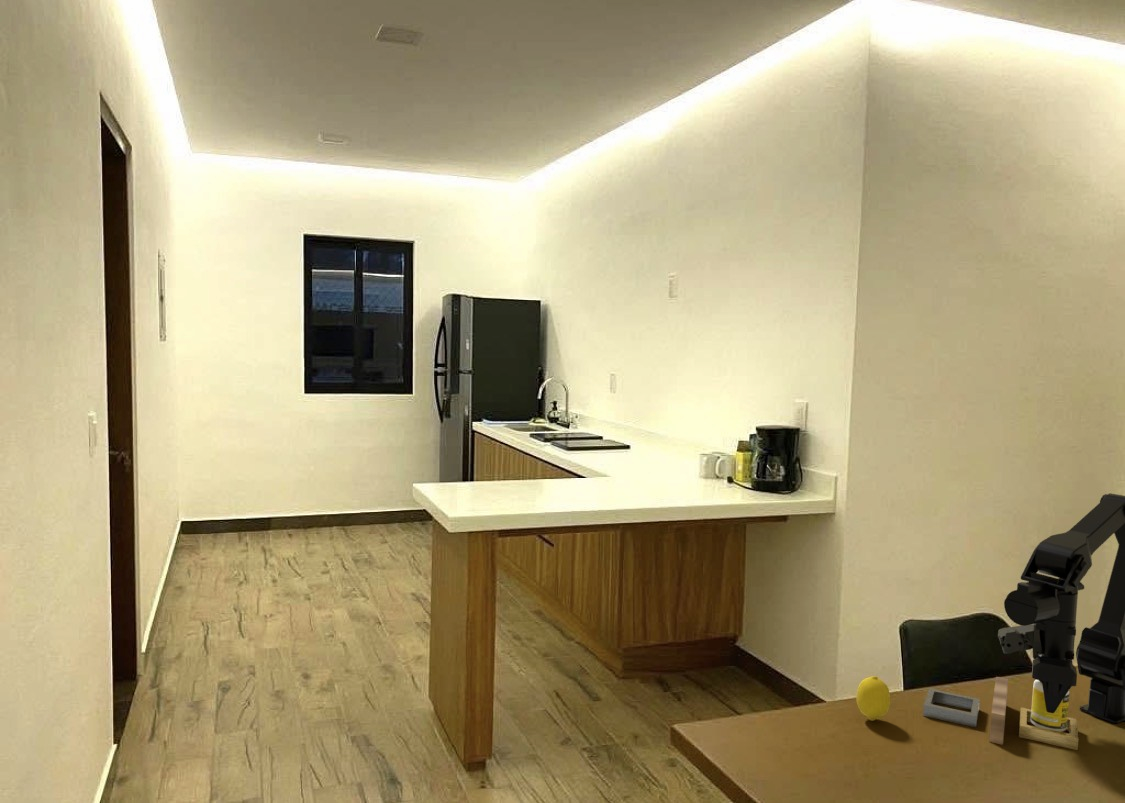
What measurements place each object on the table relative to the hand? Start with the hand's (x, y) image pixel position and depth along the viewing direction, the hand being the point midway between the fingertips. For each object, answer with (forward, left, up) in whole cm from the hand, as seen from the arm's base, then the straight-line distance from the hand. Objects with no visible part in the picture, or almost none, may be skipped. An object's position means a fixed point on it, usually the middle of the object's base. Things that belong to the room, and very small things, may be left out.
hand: (1049, 706), depth 145 cm
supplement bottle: (0, 0, -4) cm, 4 cm away
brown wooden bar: (+4, -6, -5) cm, 9 cm away
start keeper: (+8, -13, -5) cm, 16 cm away
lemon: (+24, -16, -5) cm, 30 cm away
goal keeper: (0, 0, -5) cm, 5 cm away
